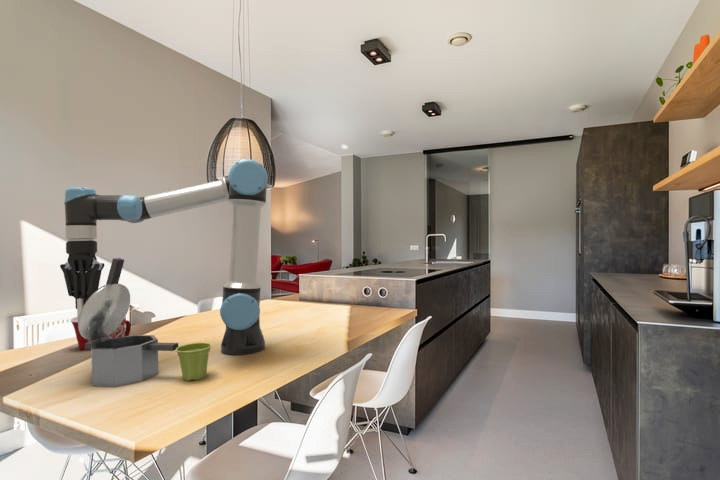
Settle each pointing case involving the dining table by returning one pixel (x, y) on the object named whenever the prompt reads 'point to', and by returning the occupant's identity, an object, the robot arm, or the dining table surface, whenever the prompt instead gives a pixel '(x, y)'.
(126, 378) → the cooker pot
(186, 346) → the plant pot
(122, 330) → the mug
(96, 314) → the lid
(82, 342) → the plastic cup
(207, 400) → the dining table surface
